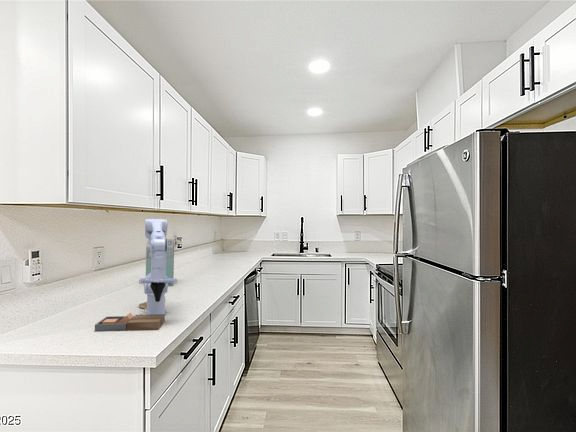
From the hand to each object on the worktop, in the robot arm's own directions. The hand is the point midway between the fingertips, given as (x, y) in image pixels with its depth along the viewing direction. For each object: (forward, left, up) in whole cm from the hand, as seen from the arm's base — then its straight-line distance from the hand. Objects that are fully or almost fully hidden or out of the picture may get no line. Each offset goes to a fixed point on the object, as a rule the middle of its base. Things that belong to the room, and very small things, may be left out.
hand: (157, 301), depth 147 cm
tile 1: (+3, -17, -7) cm, 19 cm away
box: (+3, -15, -9) cm, 18 cm away
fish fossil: (-39, -10, -10) cm, 42 cm away
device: (-91, -19, -9) cm, 94 cm away
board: (+3, -3, -9) cm, 10 cm away
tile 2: (+3, -11, -7) cm, 13 cm away
